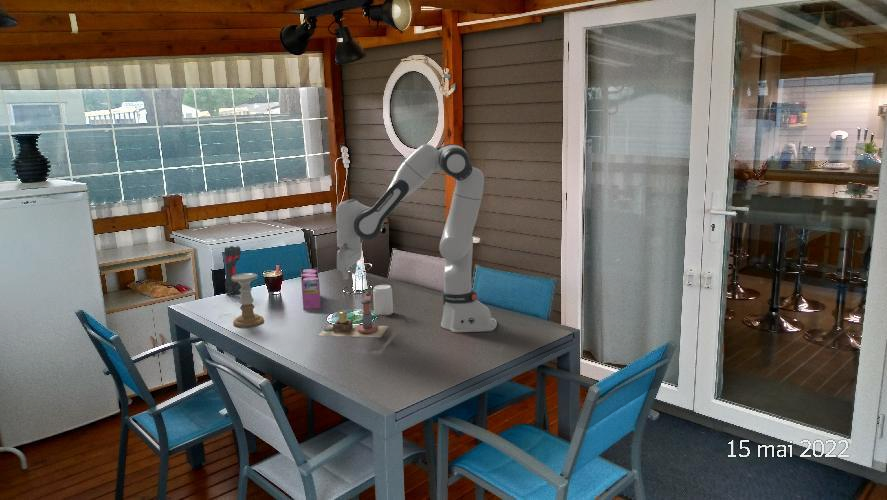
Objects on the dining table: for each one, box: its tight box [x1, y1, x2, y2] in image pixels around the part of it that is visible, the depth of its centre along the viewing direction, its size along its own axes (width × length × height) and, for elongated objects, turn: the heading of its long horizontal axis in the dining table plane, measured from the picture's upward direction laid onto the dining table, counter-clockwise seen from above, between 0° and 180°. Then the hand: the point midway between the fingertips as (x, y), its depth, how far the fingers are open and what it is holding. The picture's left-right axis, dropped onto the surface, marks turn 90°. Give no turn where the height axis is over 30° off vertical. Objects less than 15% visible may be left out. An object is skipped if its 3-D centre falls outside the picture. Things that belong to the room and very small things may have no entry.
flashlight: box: [224, 245, 242, 296], centre depth 312 cm, size 8×8×23 cm
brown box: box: [332, 319, 354, 333], centre depth 252 cm, size 6×6×3 cm
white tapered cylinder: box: [372, 284, 394, 316], centre depth 274 cm, size 8×8×12 cm
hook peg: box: [338, 310, 348, 325], centre depth 252 cm, size 3×3×7 cm
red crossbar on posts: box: [357, 292, 379, 333], centre depth 253 cm, size 15×8×12 cm, turn 3°
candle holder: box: [231, 272, 265, 328], centre depth 266 cm, size 12×12×20 cm
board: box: [317, 323, 390, 338], centre depth 251 cm, size 25×13×2 cm, turn 81°
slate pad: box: [322, 326, 333, 331], centre depth 253 cm, size 4×4×1 cm
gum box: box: [300, 267, 322, 310], centre depth 295 cm, size 24×8×14 cm, turn 12°
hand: (349, 276), depth 251 cm, fingers open, 8 cm apart
